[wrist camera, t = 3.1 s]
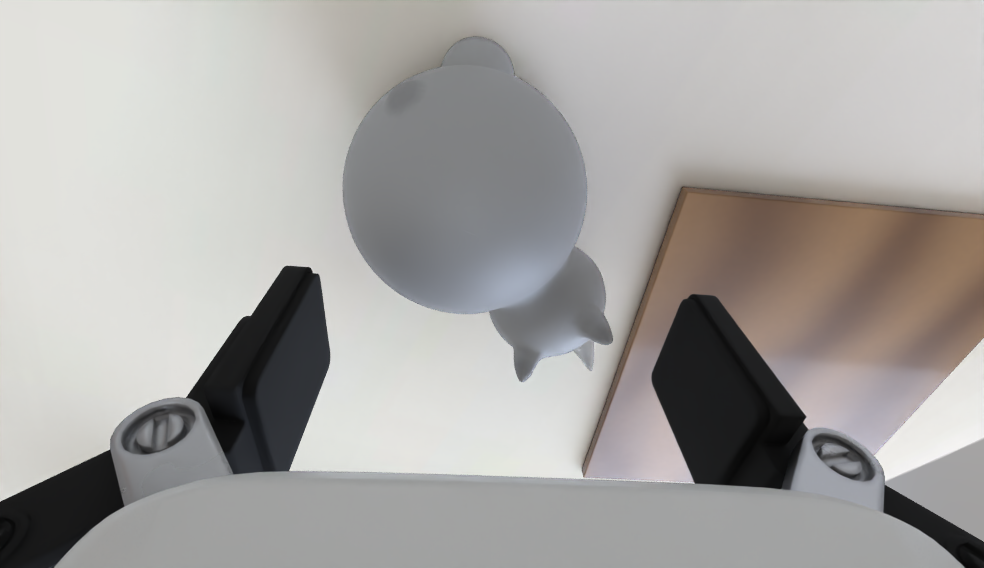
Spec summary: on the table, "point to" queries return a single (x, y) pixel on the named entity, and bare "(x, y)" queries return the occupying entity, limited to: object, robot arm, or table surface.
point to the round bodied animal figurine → (479, 204)
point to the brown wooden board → (804, 314)
